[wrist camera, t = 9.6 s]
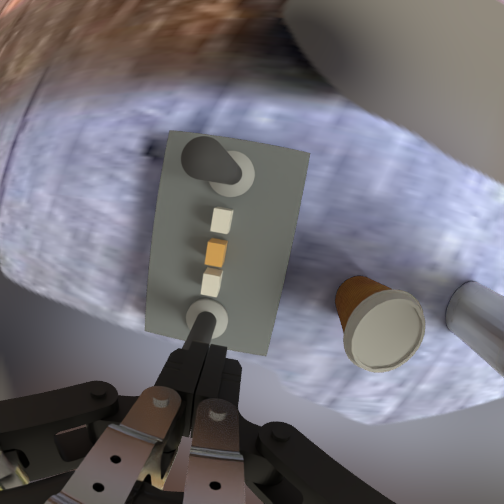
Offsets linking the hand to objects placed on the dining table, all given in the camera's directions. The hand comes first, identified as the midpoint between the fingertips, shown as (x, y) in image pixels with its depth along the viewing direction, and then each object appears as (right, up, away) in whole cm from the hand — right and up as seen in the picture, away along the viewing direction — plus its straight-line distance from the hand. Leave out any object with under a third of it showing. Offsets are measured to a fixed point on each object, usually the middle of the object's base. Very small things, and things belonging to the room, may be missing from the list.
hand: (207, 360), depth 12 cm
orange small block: (-2, +5, +21) cm, 22 cm away
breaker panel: (-2, +6, +25) cm, 26 cm away
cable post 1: (0, +13, +20) cm, 24 cm away
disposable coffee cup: (+16, -2, +27) cm, 31 cm away
